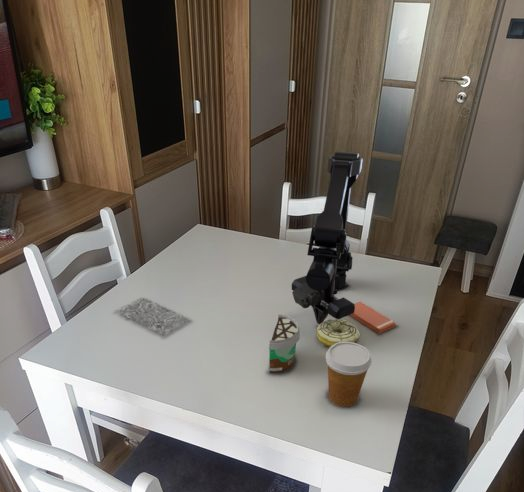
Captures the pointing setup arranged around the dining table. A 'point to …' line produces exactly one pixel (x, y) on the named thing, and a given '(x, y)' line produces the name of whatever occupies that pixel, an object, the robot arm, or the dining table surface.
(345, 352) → the disposable coffee cup
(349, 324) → the decorated donut
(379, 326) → the orange flat bar
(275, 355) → the food container
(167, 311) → the rug
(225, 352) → the dining table surface
